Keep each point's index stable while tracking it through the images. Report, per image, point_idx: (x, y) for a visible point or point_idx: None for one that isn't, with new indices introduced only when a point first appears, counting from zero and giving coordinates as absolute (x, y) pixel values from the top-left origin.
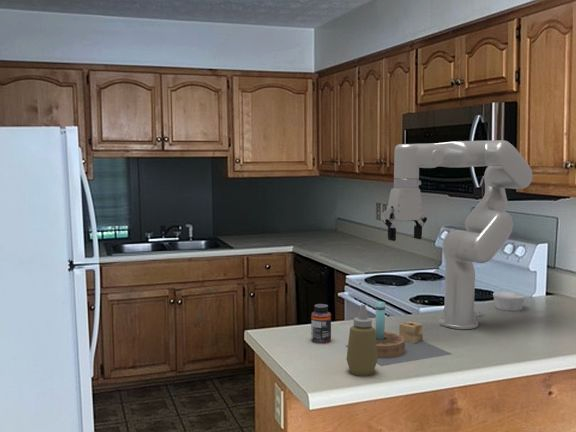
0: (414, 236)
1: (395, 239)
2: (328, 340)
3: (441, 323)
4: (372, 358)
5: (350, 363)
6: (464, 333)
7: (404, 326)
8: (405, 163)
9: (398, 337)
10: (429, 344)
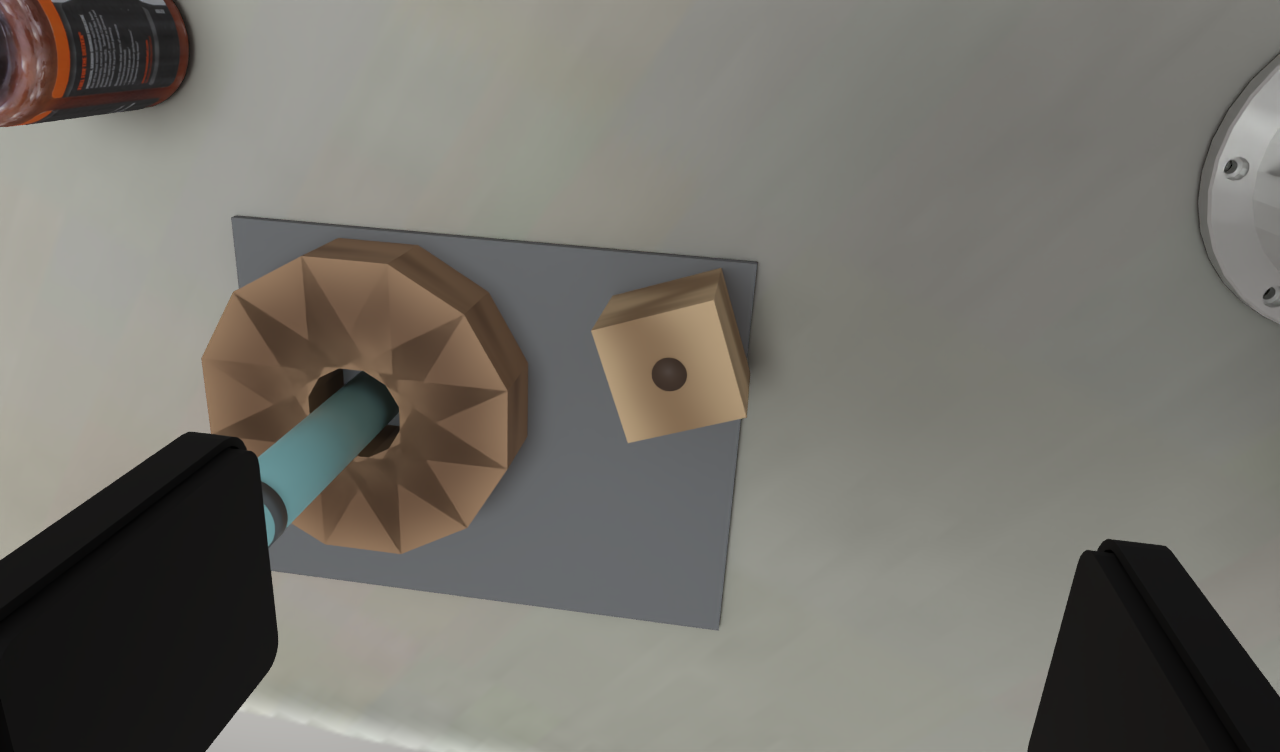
0: (1089, 595)
1: (257, 673)
2: (147, 106)
3: (1220, 135)
4: None
5: None
6: (1171, 376)
7: (605, 369)
8: None
9: (472, 460)
10: (727, 455)
